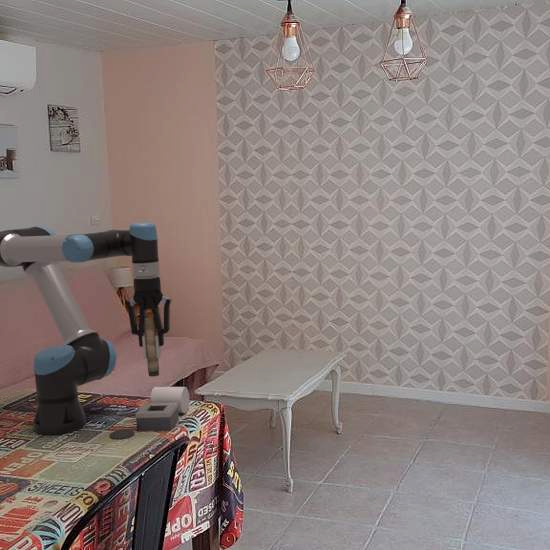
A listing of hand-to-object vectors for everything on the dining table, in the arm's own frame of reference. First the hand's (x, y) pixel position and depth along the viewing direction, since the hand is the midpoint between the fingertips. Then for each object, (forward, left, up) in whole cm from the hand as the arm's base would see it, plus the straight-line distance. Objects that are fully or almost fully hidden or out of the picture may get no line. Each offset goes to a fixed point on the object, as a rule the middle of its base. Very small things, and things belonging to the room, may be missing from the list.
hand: (152, 357), depth 217 cm
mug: (+1, +14, -21) cm, 25 cm away
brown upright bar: (0, 0, -5) cm, 5 cm away
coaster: (-8, -8, -20) cm, 23 cm away
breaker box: (0, 0, -20) cm, 20 cm away
